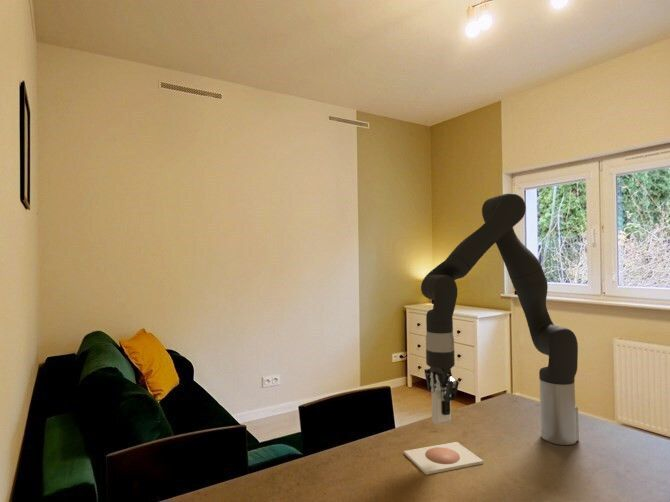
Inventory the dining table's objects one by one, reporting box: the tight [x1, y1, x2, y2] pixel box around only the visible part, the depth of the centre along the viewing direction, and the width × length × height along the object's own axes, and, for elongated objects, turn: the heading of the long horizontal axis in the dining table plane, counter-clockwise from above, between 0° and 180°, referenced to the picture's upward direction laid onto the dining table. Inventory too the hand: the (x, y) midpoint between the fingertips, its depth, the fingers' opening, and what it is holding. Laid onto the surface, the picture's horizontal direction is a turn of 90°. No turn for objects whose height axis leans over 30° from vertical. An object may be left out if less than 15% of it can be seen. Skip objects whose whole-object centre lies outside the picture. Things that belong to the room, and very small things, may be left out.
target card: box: [403, 441, 484, 476], centre depth 112 cm, size 17×12×1 cm
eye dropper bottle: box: [431, 382, 452, 425], centre depth 112 cm, size 4×6×12 cm
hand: (441, 411), depth 112 cm, fingers closed on eye dropper bottle, 3 cm apart
